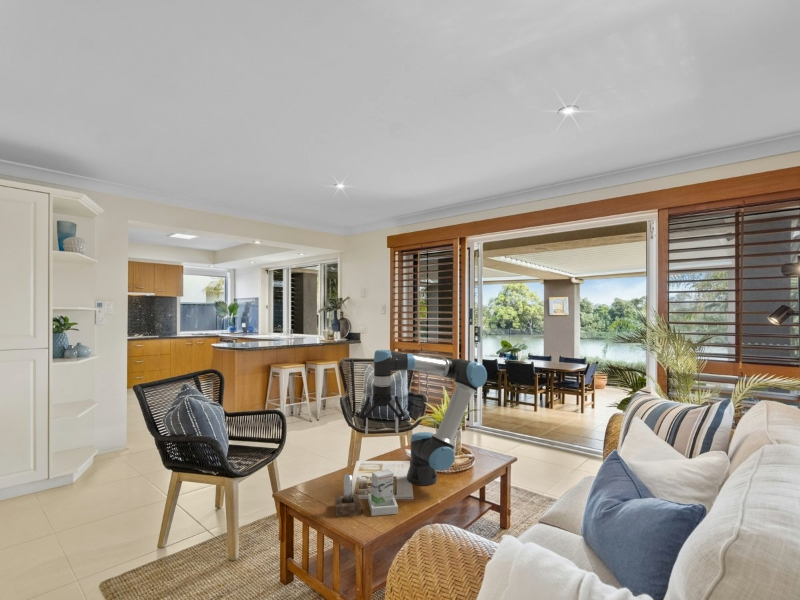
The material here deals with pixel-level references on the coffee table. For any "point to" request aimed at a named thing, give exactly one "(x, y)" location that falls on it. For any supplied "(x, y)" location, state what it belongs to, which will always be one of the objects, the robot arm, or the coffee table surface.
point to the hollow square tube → (347, 506)
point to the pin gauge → (348, 488)
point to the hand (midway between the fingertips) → (381, 433)
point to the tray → (383, 507)
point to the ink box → (382, 486)
